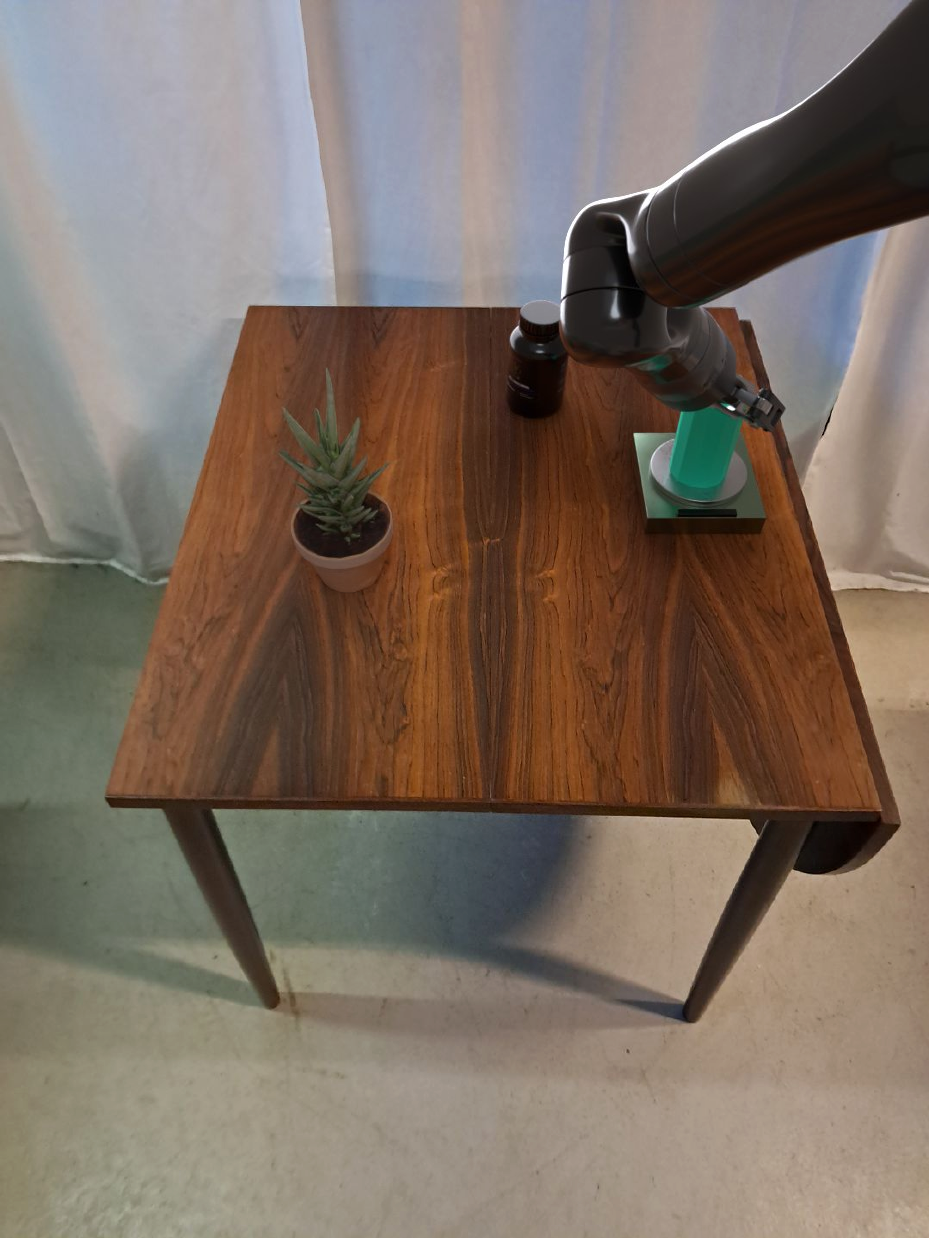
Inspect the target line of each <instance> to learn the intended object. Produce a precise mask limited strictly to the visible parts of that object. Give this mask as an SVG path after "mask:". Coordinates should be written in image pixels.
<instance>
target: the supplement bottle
mask: <svg viewBox="0 0 929 1238" xmlns="http://www.w3.org/2000/svg"><path fill="white" fill-rule="evenodd" d="M559 315H560V305H559V304H557V303H556V302H553V301H549V300H544V299H541V300H540V299H538V300H531V301H528V302H527V303H524V305H522V307H521V308H520V311H519V319H518V325H517V326H516V327H515V328H514V329H513V330H512V332H511V333H510V336H509V340H508V349H507V350H508V351H507V367H506V368H507V371H506V387H505V398H506V404H507V405H508V406H509V408H510V409H511V410H512V411H513V412H515V414H518V415H520V416H522V417H525V418H529V419H542V418H546V417H550V416H552V415H554V414H556V413H557V412H558V411H559V410H560V409H561V407H562V406H563V403H564V399H565V393H566V384H567V374H568V367H569V359H570V358H569V357H570V356H569V354H568V353H567V351H566V350H565V348H564V346H563V343H562V341H561V337H560V332H559Z"/></svg>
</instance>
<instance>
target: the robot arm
mask: <svg viewBox="0 0 929 1238" xmlns="http://www.w3.org/2000/svg"><path fill="white" fill-rule="evenodd" d="M925 218H929V0H910V2H908V3H907V4H906V5H905V6H904V8H902V10H901V11H900V12H899V13H898V14H897V15H896V16H895V17H894V18H893V19H892V20H891V21H890V22H889V23H888V24H887V25H886V26H885V27H884V28H883V29H882V31H880V32H879V33H878V35H876V36H875V37H874V38H873V39H872V40H871V42H870V43H869V44H868V45H867V46H866V47H865V48H863V49H862V51H861V52H859V53H858V54H857V55H856V56H855V57H854V58H853V59H852V60H851V61H850V62H849V63H848V64H847V65H846V66H845V67H843V68H842V69H841V70H840V71H839V72H838V73H836V74H835V76H833V77H832V78H831V79H830V80H828V81H827V82H826V83H825V84H823V85H822V86H821V87H819V89H817V90H816V91H815V92H814V93H812V94H810V95H809V96H808V97H807V98H805V99H803V100H802V101H801V102H799V103H797V104H796V105H795V106H793V107H791V108H790V109H788V110H786V111H784V112H783V113H781V114H778V115H777V116H774V117H771V118H768V119H765V120H763V121H761V122H758V123H756V124H754V125H751V126H749V127H747V128H745V129H743V130H741V131H739V132H737V133H735V134H734V135H732V136H730V137H729V138H727V139H726V140H724V141H722V142H721V143H720V144H718V145H716V146H715V147H713V148H712V149H710V150H708V151H707V152H705V153H704V154H702V155H701V156H700V157H698V158H697V159H696V160H694V161H693V162H691V163H690V164H689V165H687V166H686V167H684V168H683V169H682V170H679V172H678V173H676V174H675V175H673V176H672V177H671V178H669V179H668V180H666V181H665V182H664V183H662V184H661V185H659V186H657V187H653V188H649V189H645V190H642V191H639V192H635V193H631V194H628V195H623V196H619V197H618V196H617V197H610V198H604V199H600V200H597V201H594V202H591V203H589V204H588V205H586V206H585V207H584V208H583V209H581V210H580V211H579V213H578V214H577V215H576V217H575V218H574V220H573V221H572V223H571V225H570V227H569V229H568V232H567V235H566V238H565V242H564V250H563V251H564V253H563V266H562V277H561V278H562V279H561V292H560V305H559V306H560V315H559V332H560V337H561V341H562V343H563V346H564V348H565V350H566V351H567V353H568V354H569V357H570V358H571V359H572V360H573V361H574V362H577V363H578V364H581V365H583V366H586V367H590V368H595V369H596V368H597V369H606V370H607V369H608V370H611V369H612V370H613V369H623V368H624V369H625V370H626V371H628V372H629V373H630V374H631V376H632V377H633V378H634V380H635V381H636V382H637V383H638V385H639V386H641V387H642V388H643V389H645V390H646V391H647V392H648V393H649V394H651V396H653V397H654V398H655V399H657V400H658V401H659V402H660V403H661V404H662V405H664V406H665V407H666V408H669V409H671V410H674V411H676V412H681V411H682V412H694V411H699V410H702V409H705V408H707V407H709V408H712V409H716V410H717V411H719V412H721V413H722V414H724V415H726V416H728V417H730V418H733V419H738V418H739V417H740V418H741V419H743V421H745V423H746V424H747V425H749V427H751V428H753V429H754V430H759V429H760V428H761V429H762V431H764V432H765V433H773V431H774V429H775V428H776V426H777V425H778V423H779V421H780V419H781V417H782V416H783V414H784V413H785V411H786V409H787V407H786V406H785V405H784V404H783V403H782V401H781V400H780V399H779V397H777V395H776V394H775V393H774V392H772V391H773V390H771V389H769V388H764V387H762V388H761V389H759V391H758V392H756V388H757V387H756V384H754V383H753V382H751V381H750V380H748V379H746V378H745V377H744V376H742V375H741V374H739V373H737V354H736V350H735V347H734V345H733V343H732V342H731V340H730V338H729V337H728V336H727V335H726V333H725V332H724V330H723V329H722V327H721V326H720V325H719V324H718V322H717V320H716V319H715V318H714V316H713V315H712V314H711V313H710V312H709V311H708V310H707V309H706V308H705V307H703V305H707V304H710V303H711V302H714V301H715V300H718V299H720V298H722V297H724V296H726V295H728V294H730V293H732V292H735V291H737V290H739V289H741V288H743V287H746V286H747V285H750V284H752V283H754V282H757V281H758V280H762V279H763V278H764V277H767V276H769V275H771V274H773V273H775V272H777V271H779V270H782V269H783V268H785V267H787V266H790V265H792V264H795V263H797V262H798V261H801V260H803V259H805V258H808V257H810V256H811V255H814V254H816V253H819V252H822V251H823V250H826V249H829V248H831V247H834V246H836V245H839V244H842V243H845V242H848V241H851V240H854V239H857V238H861V237H864V236H868V235H870V234H874V233H877V232H880V231H883V230H884V231H885V230H887V229H891V228H894V227H897V226H900V225H903V224H904V225H905V224H907V223H912V222H914V221H918V220H921V219H925ZM740 375H741V376H740ZM720 403H722V404H727V405H729V406H728V407H725V406H723V405H722V404H720ZM746 405H747V410H746V412H744V408H745V406H746Z"/></svg>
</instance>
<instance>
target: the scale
mask: <svg viewBox="0 0 929 1238" xmlns="http://www.w3.org/2000/svg"><path fill="white" fill-rule="evenodd" d="M675 436H676V432H633V434H632V440H631V444H630V445H631V446H630V455H631V460H632V461H631V462H632V467H633V473H634V479H635V480H634V481H635V486H636V491H637V499H638V503H639V510H640V517H641V523H642V529H643V534H644V535H761V534H762V531H763V530H764V529H763V528H764V526H765V523H766V521H767V515H766V511H765V507H764V504H763V500H762V497H761V493H760V489H759V487H758V483H757V479H756V475H755V472H754V468H753V465H752V462H751V461H752V460H751V458H750V454H749V450H748V448H747V444H746V441H745V437H744V433H743V432H739V435H738V439H737V442H736V445H735V449H734V452H733V455H732V458H731V462H730V465H729V468H728V472H727V475H726V477H725V478H724V479H723V480H722V481H721V483H720V484H718V485H715V486H712V487H709V488H697V487H690V486H688V485H686V484H683V483H681V482H679V481H677V479H676V478H675V477H674V476H673V474H672V473H671V472H670V458H671V453H672V449H673V445H674V440H675Z"/></svg>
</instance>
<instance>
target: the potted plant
mask: <svg viewBox="0 0 929 1238" xmlns="http://www.w3.org/2000/svg"><path fill="white" fill-rule="evenodd" d="M325 381H326V382H325V383H326V411H325V426H324V423H323V421H322V418H321V415H320V412H319V410H318V409H317V408H316V407H313V409H314V418H315V419H314V420H315V425H316V431H317V439H318V444H317V443H316V442H315V440H314V439H313V438H312V437H311V436H310V435H309V434H308V433H307V431H305V429H304V428H303V427H302V426H301V425H300V424H299V423H298V421H297V420H296V419H295V418H294V417H293V416H292V415H291V414H290V412H289V411H288V410H287V409H286V408H285V407H283V406H282V407H281V408H282V413H283V416H284V418H285V421H286V422H287V425H288V427H289V429H290V431H291V433H292V435H293V437H294V438H295V439H296V441H297V443H298V445H299V446H300V447H301V449H302V450H303V452H304V454H305V455H306V457H307V458H308V459H309V461H310V462H311V465H312V466H313V467H311V466H310V465H307V464H305V463H303V462H300V461H298V460H297V459H295V458H293V457H292V456H291V455H290V454H289V453H288V451H287V450H286V449H285V448H284V447H283V446H281V447H280V449H281V450H282V451H280V450H279V449H278V450H277V454H278V455H279V456H280V458H282V459H283V460H284V462H286V464H288V465H289V466H290V468H292V469H293V470H295V472H297V473H298V474H299V475H300V477H301V478H302V479H303V480H304V481H305V482H306V484H308V486H309V487H310V488H309V487H307V486H306V485H303V484H302V483H299V482H297V481H296V480H293V481H292V482H293V484H294V485H295V486H296V487H298V489H300V490H301V491H302V492H303V493H304V494H305V495H307V497H306V498H304V499H303V500H301V502H300V503H297V502H295V503H294V504H293V506H296V508H295V509H294V511H293V513H292V516H291V519H290V522H289V523H290V533H291V536H292V540H293V543H294V546H295V548H296V550H297V552H298V553H299V554H300V556H301V557H302V558H304V559H305V561H307V562H309V563H310V564H311V566H312V567H313V569H314V570H315V572H316V574H318V576H319V577H320V579H321V581H322V582H323V583H324V585H326V586H327V587H328V588H329V589H331V590H333V591H336V592H339V593H356V592H359V591H363V590H365V589H367V588H368V589H369V588H370V587H371V586H372V585H373V584H375V583H376V581H377V580H378V578H379V576H380V574H381V572H382V570H383V558H384V554H385V551H386V550H387V549H388V546H389V545H390V544H391V542H392V538H393V535H394V530H395V529H394V528H395V526H394V520H393V514H392V513H393V512H392V510H391V508H390V506H389V504H388V502H387V501H386V500H385V499H384V498H383V497H382V496H381V495H380V494H379V493H377V492H375V491H373V490H371V489H370V488H371V486H372V485H373V483H374V482H375V481H376V479H377V478H379V476H381V474H382V473H383V472H384V471H385V470H386V469H387V468H388V466H389V465H390V463H391V460H389V461H386V463H385V464H384V465H383V466H382V467H380V468H378V469H377V470H376V469H375V470H374V471H373V472H372V473H371V474H370V473H369V474H367V475H365V476H363V477H362V478H360V476H361V474H362V472H363V470H364V468H365V467H366V465H367V461H368V455H365V456H364V457H363V458H362V459H361V461H359V463H358V464H356V465H355V466H354V467H353V465H354V460H355V456H356V450H357V446H358V438H359V433H360V427H361V426H360V425H361V424H360V423H361V422H360V421H361V419H360V417H359V416H358V417H357V418H356V419H355V421H354V423H353V425H352V427H351V430H350V432H349V434H347V437H346V438H345V440H343V442H342V443H341V444H340V443H339V435H338V425H337V423H338V422H337V415H336V405H335V404H336V403H335V402H336V401H335V397H334V396H335V395H334V389H333V384H332V379H331V374H330V372H329V369H328V367H327V366H326V367H325ZM359 478H360V479H359Z"/></svg>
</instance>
